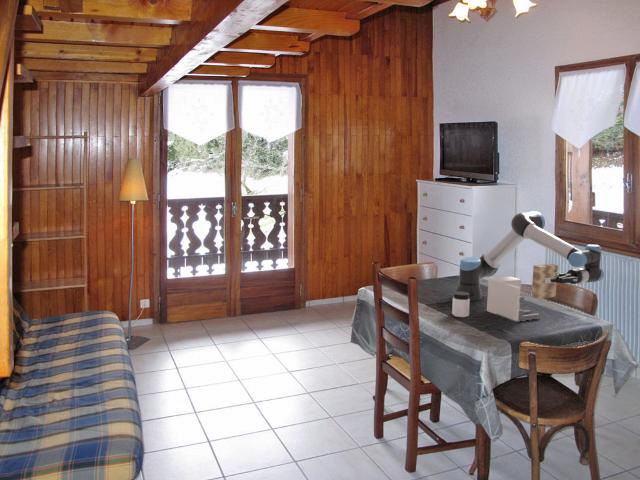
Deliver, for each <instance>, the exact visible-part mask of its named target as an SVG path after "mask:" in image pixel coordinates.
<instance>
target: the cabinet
mask: <svg viewBox="0 0 640 480" xmlns="http://www.w3.org/2000/svg"><path fill="white" fill-rule="evenodd" d="M521 288H522V278H519V277H514V276H503V277H502V276H501V277H492V278H490V277H489V278H488V285H487V300H486V301H487V303H486V306H487V307H486V312H489V313H491V314H493V315H496V316H498V317H501V318H504V319H506V320H508V321H512V322H514V323H521V322H520V321H522V322H527V321H526V320H529V321H533V320H532V319H537V318H539V319H540V313H532V311H531V310H530V309H529V310H524V309H520V306H521V304H524V303H525V297H524V296H521V291H522V289H521ZM537 320H538V319H537Z"/></svg>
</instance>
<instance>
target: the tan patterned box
mask: <svg viewBox="0 0 640 480" xmlns="http://www.w3.org/2000/svg"><path fill="white" fill-rule="evenodd" d="M558 270H559V265H558V264H554V263H549V264H548V263H547V264H546V263H545V264H537V265H533V270H532V285H531V295H530V296H531V298H534V299H537V300H539V299H548V298H556V297H557V296H556V295H557V284H558V283H547V284H545V278H550V277H556V279H557V272H559V271H558Z"/></svg>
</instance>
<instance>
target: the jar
mask: <svg viewBox="0 0 640 480" xmlns="http://www.w3.org/2000/svg"><path fill="white" fill-rule="evenodd" d="M470 303H471V302H470V299H469V293H467V292H461V291H458V292H456V291H455V292H453V296H452V305H451V306H452V308H451V310H452V311H451V314H452V315H453V316H454V317H456V318H457V317H458V318H467V317H469V316H470Z"/></svg>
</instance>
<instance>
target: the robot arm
mask: <svg viewBox="0 0 640 480" xmlns="http://www.w3.org/2000/svg"><path fill="white" fill-rule="evenodd" d="M510 225H511V228H512V229H511V230H510V231H509V232H508V233H507V234H506V236H504V237H503V238H502V239H501V240H500V241H499V242H498V243H497V244H496V245H495V246H494V247H492V249H491V250H490V251H489V252H488V251H487V252H484V253H483V254H482V255H481V256H480V257H476V256H475V257H474V256H473V257H472V256H470V257H464V258H462V259H461V260H460V262H459V280H458V281H459V282H458V286H457V289H456V291H455V292H458V291H461V292H467V293H469V299H470V301H471V302H472V301H473V302H475V301H480V300H482V297H483V295H482V290H481V286H480V281H481V279H484V278H490V277H493V276H495V275H496V274H497V273H498V270H499V268H500V266H501V262H502V261H503V260H504V259H505V258H507V257H508V256H509V255H510V254H511V253H512V252H513V251H515V249H516V248H517V247H518V246H519V245H520V244H521V243H522V242H523V241H524V240H531V241H533V242H534V243H536V244H538V245H540V246H542V247H543V248H545V249H547V250H548V251H551V252H552V253H554V254H556V255H558V256H559V257H561V258H563V259H565V260H567V261H568V262H569V264H570V266H571V267H574V268H571V269H569V270H568V271H567V272H563V273H561V272H559V271H558V272H557V279H556V277H550V278H545V284H547V283H557V284H558V283H559V284H571V285H574V284H575V285H576V284H577V285H578V284H580V285H582V284H585V283H586V284H587V283H596V282H600V281H602V280H603V279H604V278H605V277H604V276H605V272H604V269H603V268H602V267H601V257H602V247H601V246H600V245H599V244H586V246H585V248H584V250H581V249H580V248H577V247H575V246H574V245H572V244H570V243H568V242H566V240H565V241H564V240H562V239H561V238H559V237H557V236H556V235H554V234H552V233H550V232H548V231H546V230H545V229H544V228H545V227H546V219H545V217H544V216H543V214H542V213H541V212H539V211H532V210H531V211H527V212H520V213H517V214H515V215H514V216H513V217H512V219H511V223H510ZM583 266H584V267H583ZM581 267H583V268H581Z"/></svg>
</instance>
